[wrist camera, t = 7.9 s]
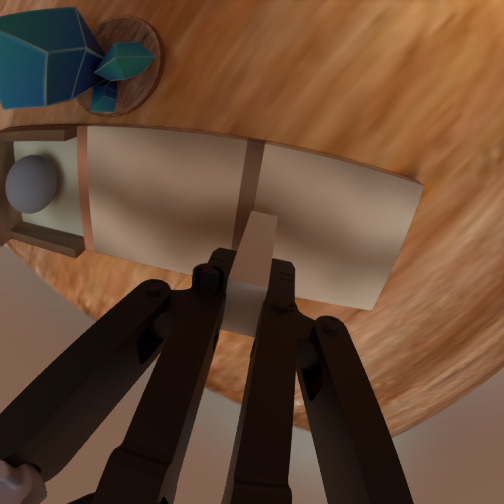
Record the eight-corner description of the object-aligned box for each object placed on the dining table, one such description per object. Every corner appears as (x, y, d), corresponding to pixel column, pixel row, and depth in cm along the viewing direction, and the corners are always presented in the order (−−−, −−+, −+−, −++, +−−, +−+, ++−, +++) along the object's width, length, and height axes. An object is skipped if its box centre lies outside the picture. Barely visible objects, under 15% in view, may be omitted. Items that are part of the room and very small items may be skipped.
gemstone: (102, 2, 12) (-37, -19, 2) (193, 47, 14) (50, 6, 4) (56, 87, 16) (-78, 123, 5) (133, 141, 17) (-11, 215, 7)
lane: (9, 127, 17) (-23, 138, 14) (418, 181, 16) (445, 203, 13) (20, 224, 22) (-6, 244, 19) (369, 302, 21) (378, 339, 18)
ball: (18, 165, 14) (62, 144, 17) (-10, 169, 14) (30, 149, 18) (34, 226, 16) (72, 198, 20) (5, 222, 17) (40, 197, 20)
